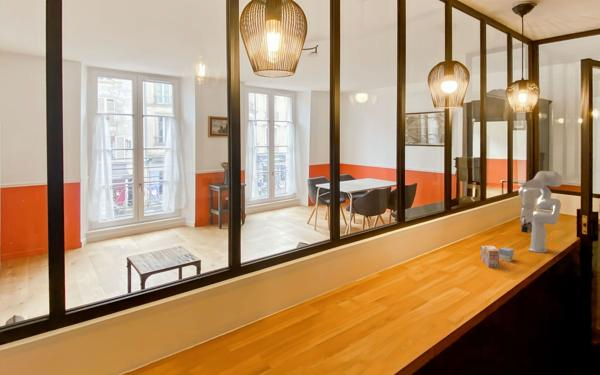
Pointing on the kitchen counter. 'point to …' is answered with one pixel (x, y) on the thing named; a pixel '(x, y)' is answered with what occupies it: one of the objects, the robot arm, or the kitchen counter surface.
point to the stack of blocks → (490, 256)
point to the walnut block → (528, 228)
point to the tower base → (506, 258)
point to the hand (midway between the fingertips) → (526, 231)
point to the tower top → (506, 251)
